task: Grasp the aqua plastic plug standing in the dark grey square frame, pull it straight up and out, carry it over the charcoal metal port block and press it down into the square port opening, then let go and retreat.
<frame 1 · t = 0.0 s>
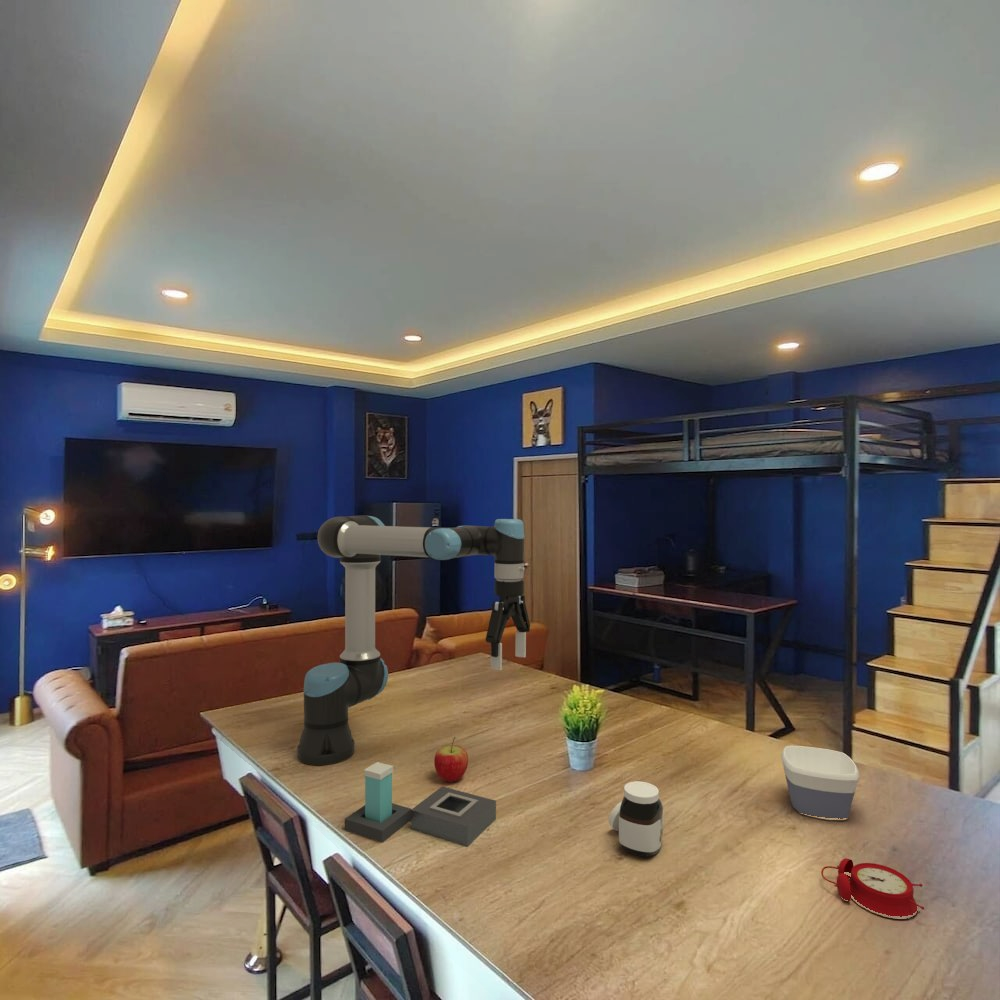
hand: (508, 663, 156), 28 cm above the counter, fingers open, 13 cm apart
spice jar: (634, 842, 125), on the counter
dark grey square frame: (378, 824, 131), on the counter
apple: (451, 780, 152), on the counter
port: (454, 823, 131), on the counter
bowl: (818, 809, 139), on the counter
plug: (378, 796, 131), in the dark grey square frame
alarm clock: (870, 899, 108), on the counter
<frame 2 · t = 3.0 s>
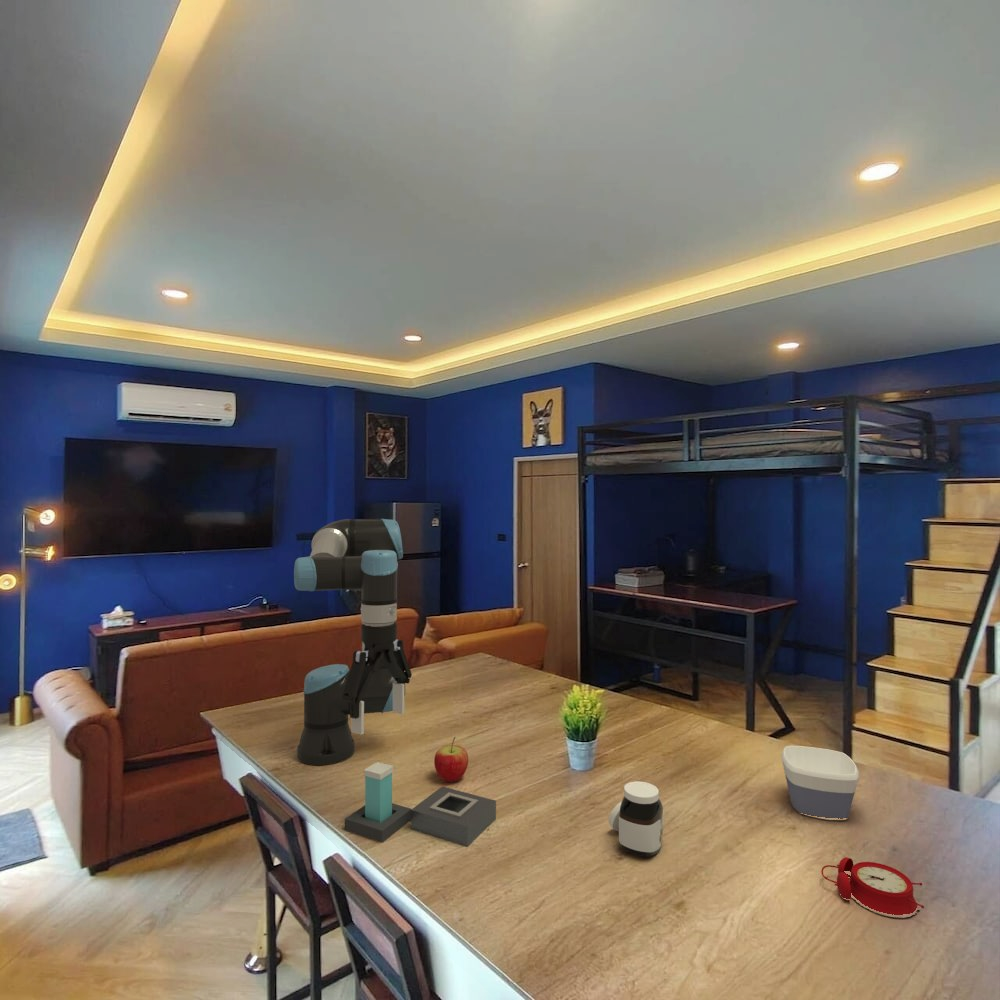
hand: (378, 722, 131), 22 cm above the counter, fingers open, 13 cm apart
nothing on the counter moved.
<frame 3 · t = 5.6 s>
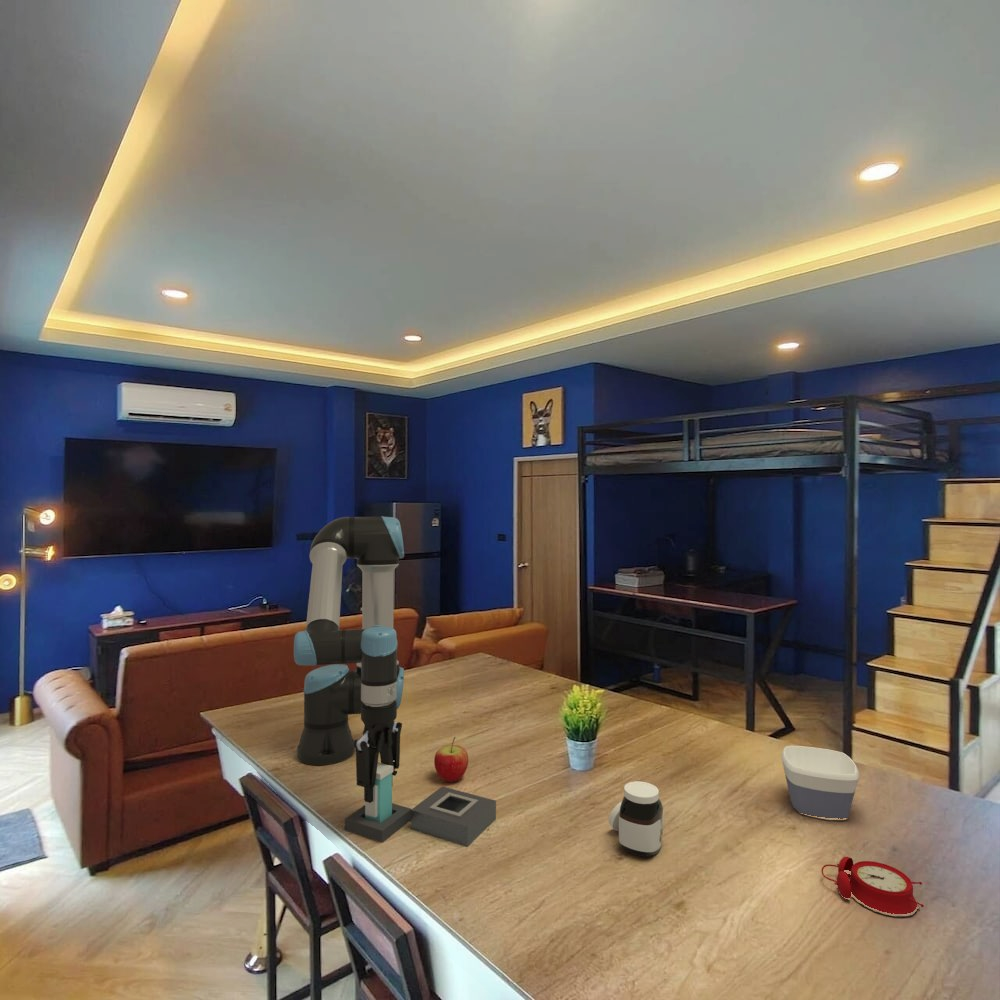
hand: (378, 810, 131), 3 cm above the counter, fingers closed on plug, 4 cm apart
plug: (378, 796, 131), in the dark grey square frame, touching gripper
everything else where it was.
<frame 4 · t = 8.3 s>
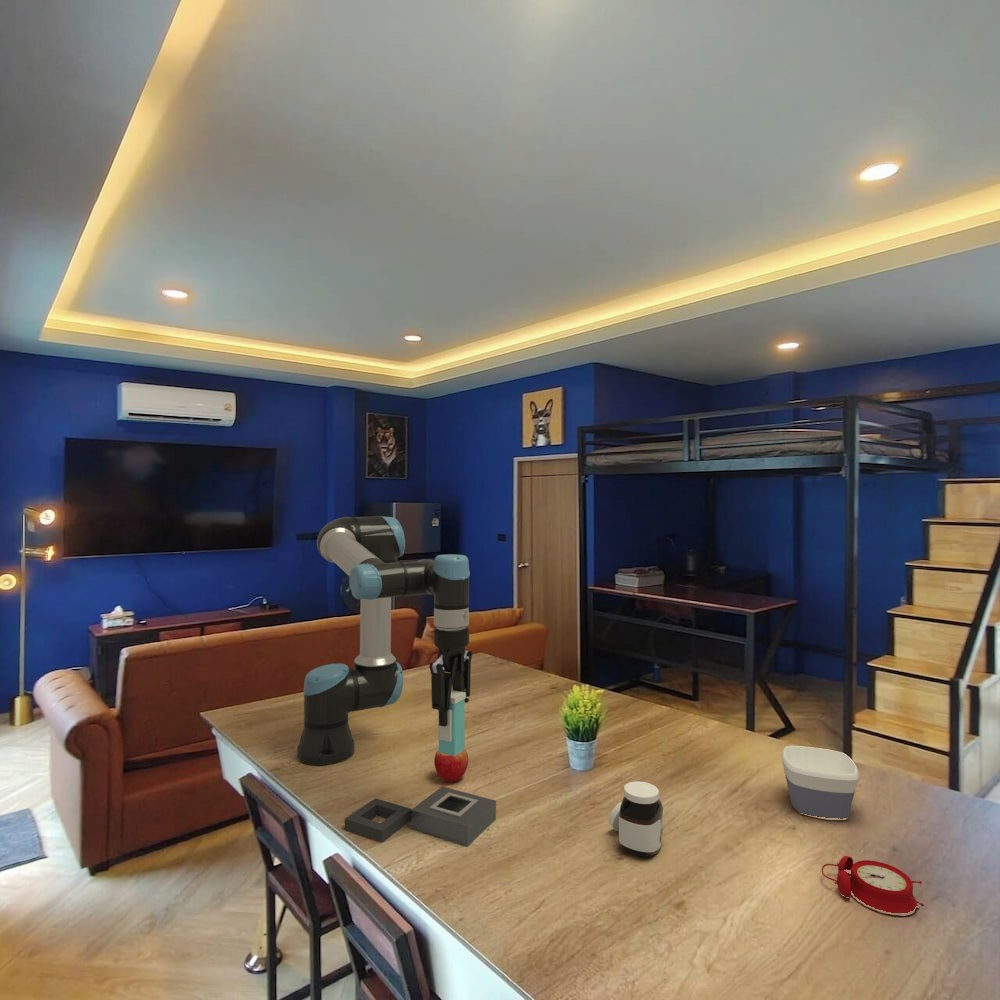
hand: (451, 736, 131), 19 cm above the counter, fingers closed on plug, 4 cm apart
plug: (451, 722, 131), point 22 cm above the counter, touching gripper
everything else where it was.
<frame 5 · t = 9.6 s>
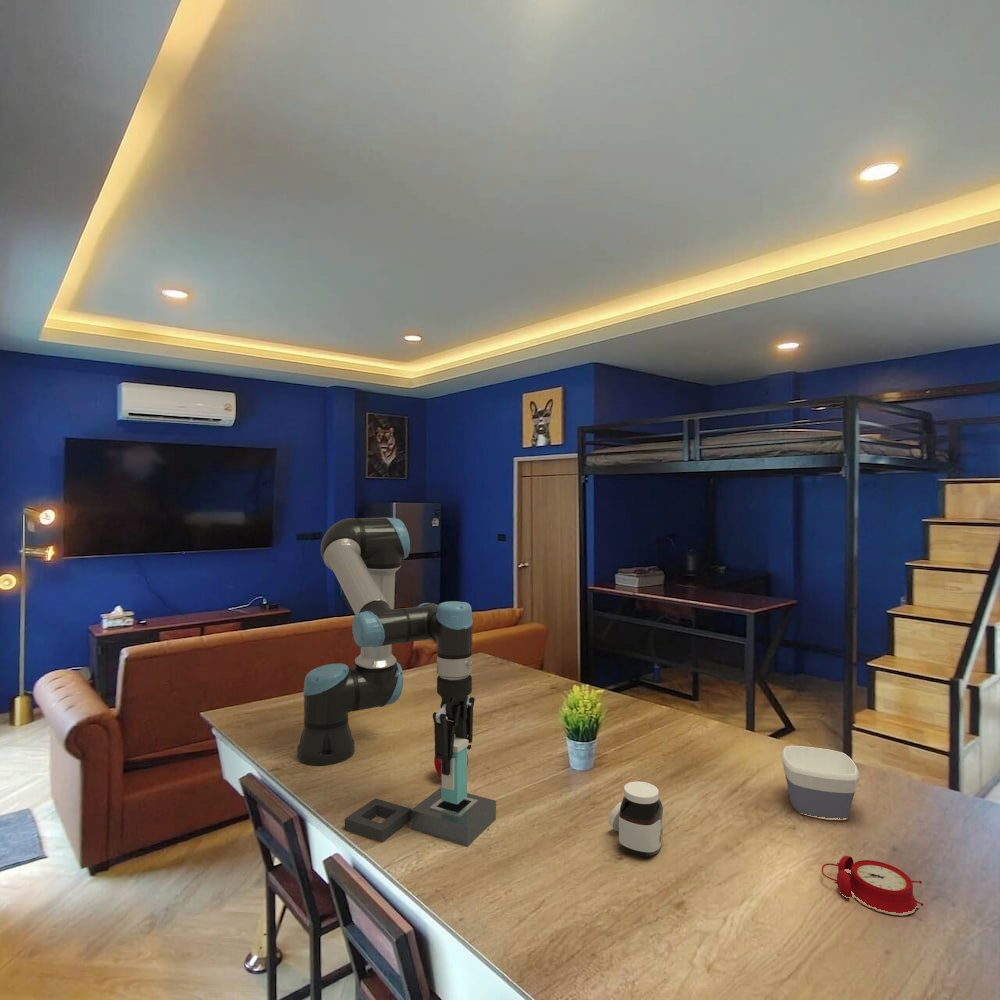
hand: (454, 783, 131), 9 cm above the counter, fingers closed on plug, 4 cm apart
plug: (454, 769, 131), point 12 cm above the counter, touching gripper
when the fingers open (5 cm above the counter, at t = 10.9 s): plug drops 2 cm, resting in port.
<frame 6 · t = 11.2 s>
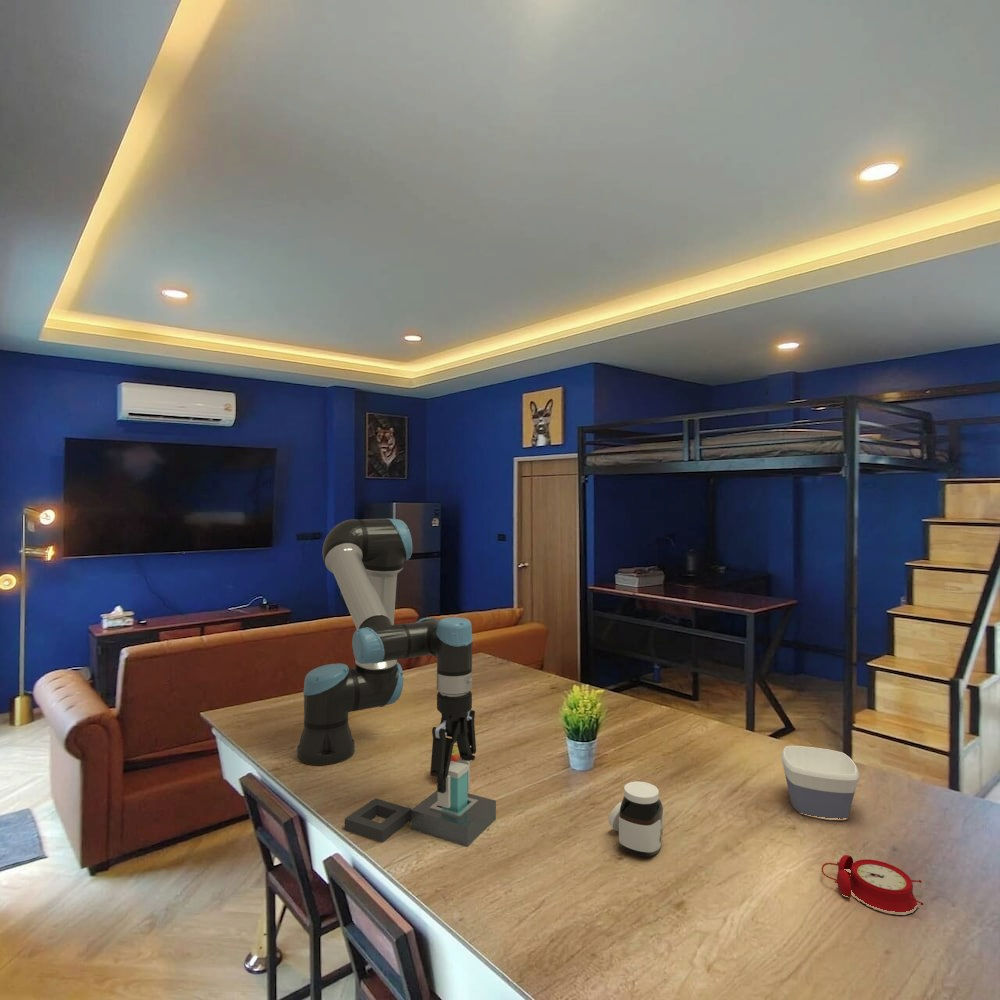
hand: (454, 797, 131), 6 cm above the counter, fingers open, 7 cm apart
plug: (454, 794, 132), in the port
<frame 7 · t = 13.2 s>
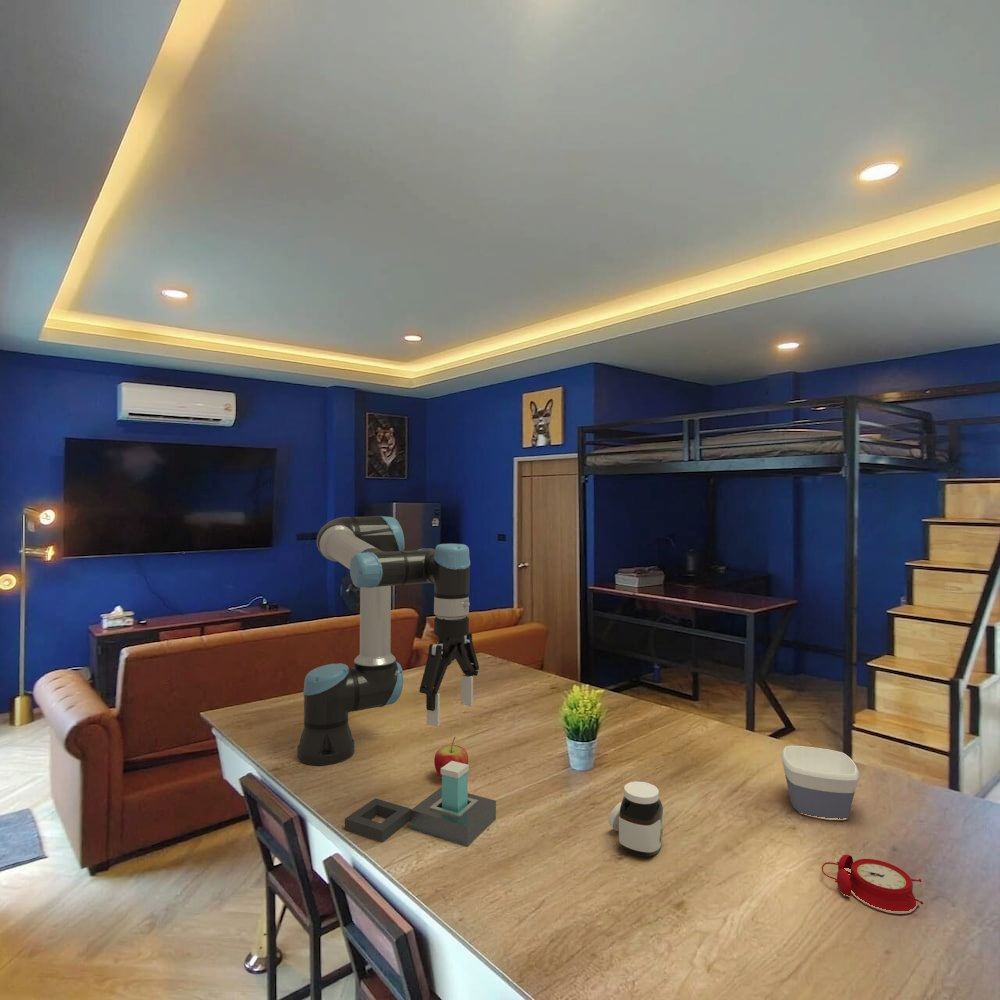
hand: (450, 714, 132), 23 cm above the counter, fingers open, 13 cm apart
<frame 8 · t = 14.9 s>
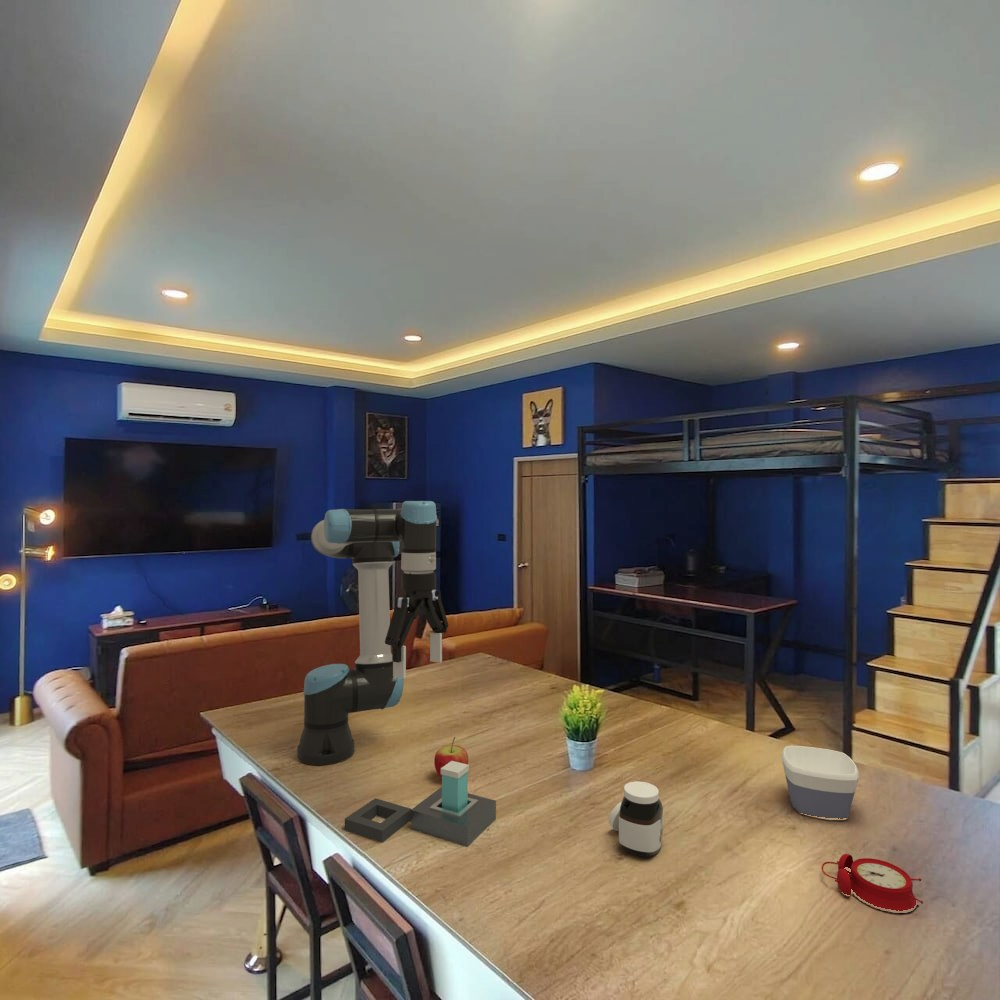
hand: (418, 669, 133), 33 cm above the counter, fingers open, 13 cm apart
at the end: plug 0.3 cm off-centre on the port, point 6.1 cm above the port's base; plug tilted 0°; the gripper is holding nothing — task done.
